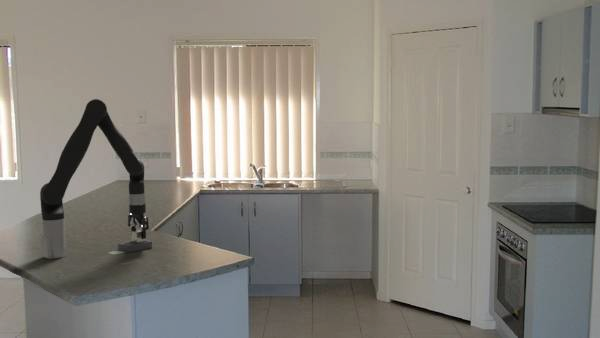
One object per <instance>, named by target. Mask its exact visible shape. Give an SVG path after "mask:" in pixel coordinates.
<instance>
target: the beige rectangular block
mask: <svg viewBox="0 0 600 338" xmlns="http://www.w3.org/2000/svg"><path fill="white" fill-rule="evenodd" d="M146 240H147V238H146V239H141V229H136V231H132V236H131V241H132V243H135V244H138V243H144V242H146Z"/></svg>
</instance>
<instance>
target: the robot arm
mask: <svg viewBox="0 0 600 338" xmlns="http://www.w3.org/2000/svg"><path fill="white" fill-rule="evenodd" d="M97 127H98V128H99V129H100V130H101V131H102V133H103V134H104V136H105V138H106V139H107V141H108V143H109V144H110V146H111V148H112V149H113V151H114V152H115V154H116V155H117V156H118V158H119V159H120V161H121V163H122V164H123V167H124V168H125V170H126V171H127V173H128V174H129V181H128V213H129V214H128V215H127V227H129V228H130V230H131V231H130V233H131V237H132V231H136V230H137V228H139V230H141V239H146V240H147V231H149V229H150V227H149V217H148V216H144V215H145V213H147V207H146V203H147V202H146V194H145V193H146V191H145V165H144V162H143V161H142V160H139V159H138V158H137V156H136V155H135V153H134V149H133V148H132V147H131V145H130V144H129V142H128V141H127V139H126V138H125V137H124V135H123V134H122V133H121V131H120V130H119V129H118V127H116V125H115V123H114V122H113V121H112V119H111V116H110V114H109V111H108V107H107V105H106V103H105V102H104V101H103V100H101V99H98V98H94V99H91V100H90V101H88V102H87V103H86V105H85V109H84V111H83V113H82V116H81V119H80V121H79V122H78V125H77V126H76V128H75V129H74V131H73V132H72V134H71V135H70V137H69V139H68V140H67V142H66V144H65V146H64V147H63V150H62V151H61V153H60V156H59V159H58V162H57V166H56V169H55V171H54V173H53V176H51V179H50V180H49V182H47V183H45V184H43V186H42V187H41V188H40V191H39V196H40V197H39V199H40V212H41V219H42V235H41V250H42V258H45V259H47V260H50V259H52V260H53V259H54V260H55V259H60V258H61V259H62V258H64V257H66V256H67V247H66V246H67V244H66V243H67V241H66V225H65V224H66V223H65V210H64V206H63V201H64V200H63V199H64V197H65V194H66V191H67V189H68V186H69V184H70V181H71V179H72V178H73V176H74V175H75V173H76V171H77V169H78V168H79V166H80V165H81V163H82V161H83V159H84V157H85V155H86V153H87V151H88V149H89V146H90V144H91V141H92V138H93V137H94V134H95V133H94V132H96V129H97ZM137 226H138V227H137Z"/></svg>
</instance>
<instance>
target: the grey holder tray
mask: <svg viewBox="0 0 600 338" xmlns="http://www.w3.org/2000/svg"><path fill="white" fill-rule="evenodd" d="M152 248H153V242H152V240H148V239H146V242H144V243H138V244H135V243H132V240H130V241H123V242H118V243H117V251H118V250H120V251H123V252H126V253H132V252H133V253H134V252H137V251H143V250H147V249H148V250H149V249H152Z"/></svg>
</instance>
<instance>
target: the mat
mask: <svg viewBox="0 0 600 338" xmlns="http://www.w3.org/2000/svg"><path fill="white" fill-rule="evenodd" d="M106 253H107V254H110V255H113V256H116V255H120V254H125V253H127V252H123V251H120V250H118V249H117V250H112V251H108V252H106Z"/></svg>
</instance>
